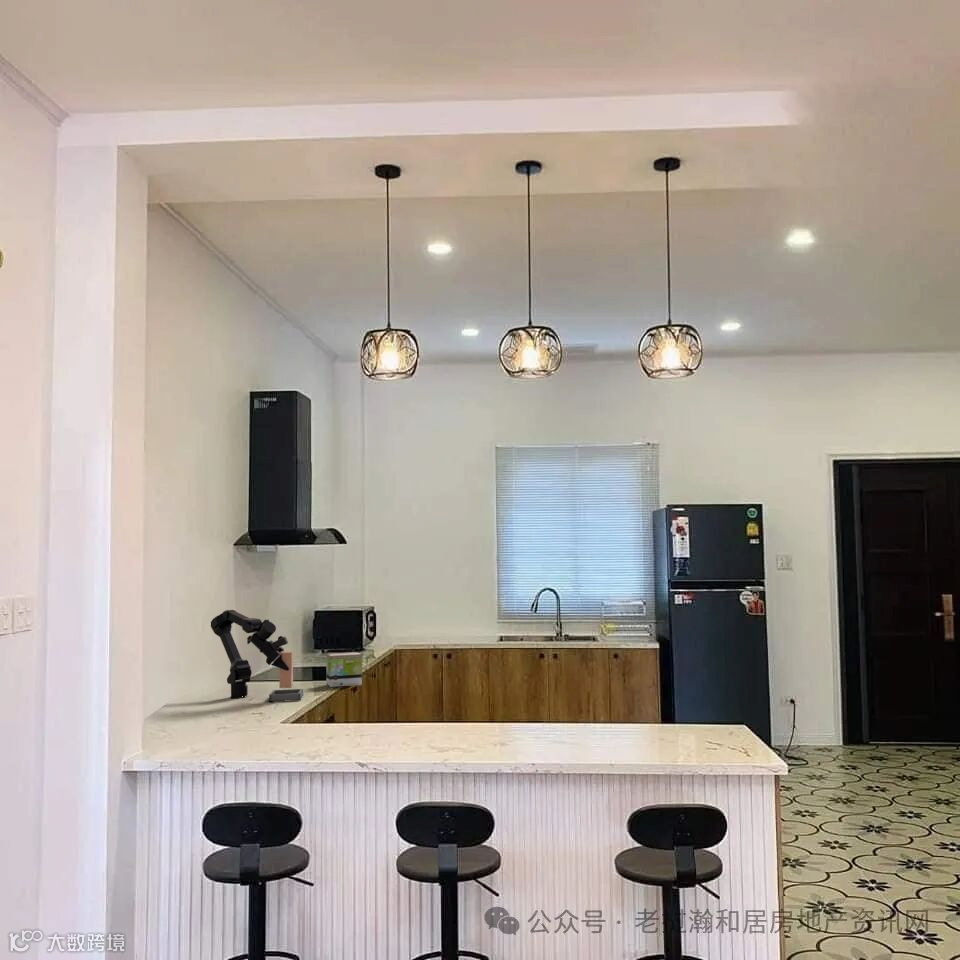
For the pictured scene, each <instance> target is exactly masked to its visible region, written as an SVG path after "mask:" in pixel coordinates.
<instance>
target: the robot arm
mask: <svg viewBox="0 0 960 960" xmlns="http://www.w3.org/2000/svg"><path fill="white" fill-rule="evenodd" d="M210 623H211V625H210V628H211V630H212V632H213V633H214V634H215V635H216V636H218V637H219V638H220V641H221V644H222V646H223V648H224V650H225V652H226V656H227V658H228V660H229V663H230V667H229V674H228V676H227V677H226V682H227V684H228V685H230V697H242V696H243V697H244V698H246V697H247V696H248V695H249V689H248V688H249V686H248V684H247V683H249V682H251V677H252V672H253V671H252V669H251V668H252V666H250V663H249V661H248V659H243V658H242V657H241V654H240V652H239V650H238V649H239V648H238V647H237V644H236V642H235V639H234V637H233V635H232V633H231V631H232V627H233V626H232V625H233V624H235V625H238V626H240V627H241V629H242V631H243V632H244V633H246V634H252V635H249V636H248V637H247V638H246V640H247V641H246V642H247V643H246V645H250V643H252V645H253V646H255V647H256V648H257V649H258V650H259V652H260V653H261V654H263V655H264V656H265V657H266V659H265V663H266V664H267V665H268V666H270V665H271V666H272V667H276V668H279V669H280V668H281V669H284V670H286V671H288V670H289V668H288V666H287V665H286V664H285V662H284V661H283V660H282V654H281V655H280V652H281V651H285V649H284V647H282V646H286V645H288V643H289V642H288V639H287V637H286V636H283V635H280V636H278V637H277V640H275V641H273V640H270V638H271V637H272V636H273V634H274V633H275V632H276V630H277V627H276V625H275V624H274V623H273V622H272V621H270V620H269V619H264V620H263V621H262V620H261V618H260V619H259V618H255V617H248V616H246V615H244V614H242V613H240V612H238V611H236V610H235V609H228V610H227V609H226V610H224V611H223V612H222V613H220V614H218V615H216V616H215V617H213V618H212V620H211V621H210ZM245 696H246V697H245Z"/></svg>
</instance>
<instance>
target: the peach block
mask: <svg viewBox="0 0 960 960" xmlns="http://www.w3.org/2000/svg"><path fill="white" fill-rule="evenodd" d="M281 654H282V660H283V661H284V662H285V664H286V665H287V666H288V668H289V670H288V671H286V670H284V669H281V668H279V689H293V688H292V687H293V686H294V650H284V651H281V652H280V655H281Z"/></svg>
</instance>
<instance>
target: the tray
mask: <svg viewBox="0 0 960 960" xmlns="http://www.w3.org/2000/svg"><path fill="white" fill-rule="evenodd" d="M268 696H269V697H268V702H269V701H283V702H286V701H285V700H300V701H302V699H303V697H304V688H287V689H273V690H272V691H271V692H270V693H269V694H268ZM302 696H303V697H302ZM301 698H302V699H301Z"/></svg>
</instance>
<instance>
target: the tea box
mask: <svg viewBox="0 0 960 960" xmlns="http://www.w3.org/2000/svg"><path fill="white" fill-rule="evenodd" d="M362 655H363V654H361V653H360V652H357V651H356V652H355V651H354V652H353V651H352V652H337V653H336V652H335V653H326V667H325V669H326V675H325V676H326V677H325V678H326V680H325V681H326V685H327V684H328V685H329V686H330V687H329V686H328V685H327V686H328V687H329V688H336V687H350V686H362V684H363V683H362V681H363V670H362V669H363V657H362Z"/></svg>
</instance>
